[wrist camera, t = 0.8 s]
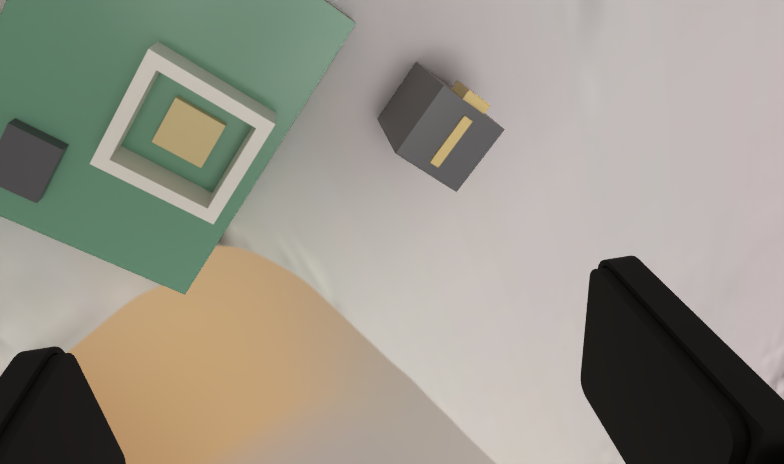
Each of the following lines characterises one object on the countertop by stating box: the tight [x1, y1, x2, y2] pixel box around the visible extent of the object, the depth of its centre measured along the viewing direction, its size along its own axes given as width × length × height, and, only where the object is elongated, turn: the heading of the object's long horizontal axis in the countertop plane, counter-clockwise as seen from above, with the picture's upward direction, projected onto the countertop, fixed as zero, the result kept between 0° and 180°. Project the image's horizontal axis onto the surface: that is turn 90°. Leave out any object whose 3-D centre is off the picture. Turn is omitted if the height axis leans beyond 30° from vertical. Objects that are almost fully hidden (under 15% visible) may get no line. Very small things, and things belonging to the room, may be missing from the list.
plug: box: [378, 62, 504, 192], centre depth 34 cm, size 5×4×7 cm
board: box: [0, 0, 356, 294], centre depth 32 cm, size 22×16×4 cm
